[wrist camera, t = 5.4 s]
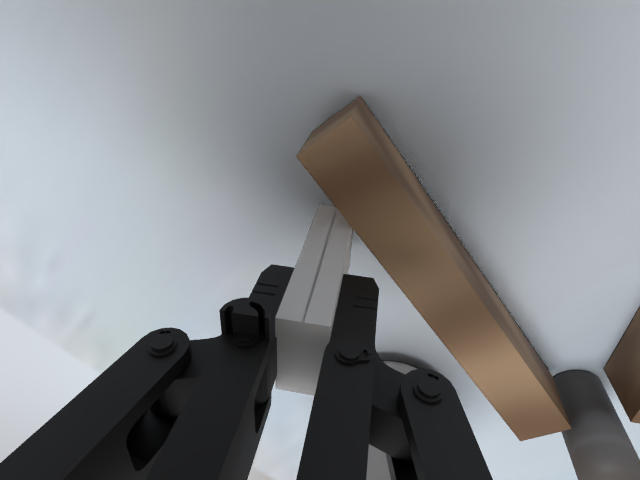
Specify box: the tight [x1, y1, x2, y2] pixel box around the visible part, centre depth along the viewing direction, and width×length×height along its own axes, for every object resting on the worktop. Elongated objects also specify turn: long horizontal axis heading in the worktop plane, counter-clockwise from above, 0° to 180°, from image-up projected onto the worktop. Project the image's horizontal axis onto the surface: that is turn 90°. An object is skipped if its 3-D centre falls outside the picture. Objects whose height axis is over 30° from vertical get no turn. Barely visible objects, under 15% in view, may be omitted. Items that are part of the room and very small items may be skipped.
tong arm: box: [296, 96, 572, 441], centre depth 17 cm, size 16×2×3 cm, turn 38°
